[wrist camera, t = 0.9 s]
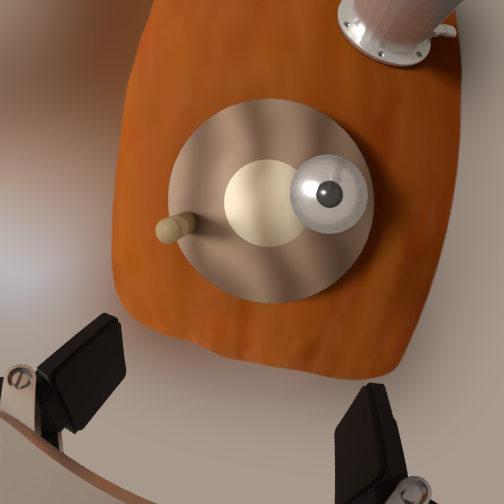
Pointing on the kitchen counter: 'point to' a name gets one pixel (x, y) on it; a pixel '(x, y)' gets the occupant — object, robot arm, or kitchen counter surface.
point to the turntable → (259, 202)
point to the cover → (328, 194)
